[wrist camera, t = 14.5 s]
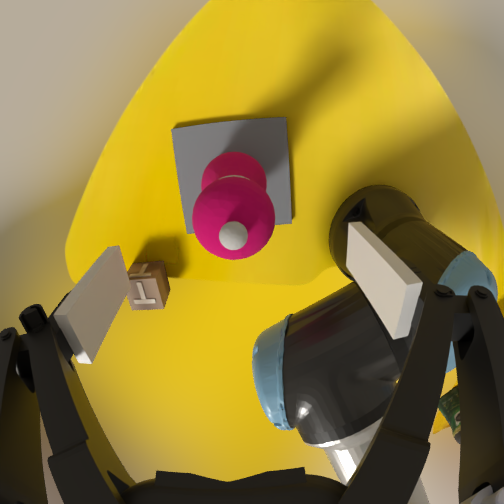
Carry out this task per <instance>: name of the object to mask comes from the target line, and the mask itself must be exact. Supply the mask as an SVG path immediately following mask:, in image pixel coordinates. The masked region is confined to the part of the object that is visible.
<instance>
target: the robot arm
mask: <svg viewBox="0 0 504 504" xmlns="http://www.w3.org/2000/svg"><path fill="white" fill-rule="evenodd" d="M329 247H330V252H331V255H332V257H333V259H334V261H335V263H336V264H337V266H338V268H339V269H340V270H341V272H342V273H343V274H344V275H345V276H346V277H347V278H349V279H350V280H352V281H354V282H352V283H350V284H348V285H347V286H345V287H343V288H341V289H339V290H338V291H336V292H334V293H332V294H331V295H329V296H327V297H325V298H323V299H321V300H320V301H318V302H316V303H314V304H312V305H310V306H308V307H307V308H305V309H303V310H301V311H299V312H297V313H295V314H289V315H287V316H286V317H285V319H284V320H282V321H280V322H278V323H277V324H275V325H273V326H271V327H270V328H268V329H266V330H265V331H263V332H262V333H261V334H260V335H259V336H258V338H257V340H256V342H255V345H254V348H253V361H252V369H253V377H254V383H255V387H256V391H257V395H258V398H259V400H260V403H261V406H262V408H263V410H264V412H265V414H266V416H267V417H268V419H269V420H270V421H271V422H272V423H274V425H275V426H276V427H277V428H278V429H281V430H292V429H294V428H295V427H296V428H297V430H298V431H299V433H300V435H301V437H302V439H303V441H304V442H305V444H306V445H309V446H313V447H317V448H322V449H324V451H325V453H326V455H327V457H328V459H329V460H330V462H331V464H332V466H333V468H334V470H335V472H336V474H337V476H338V478H339V479H340V482H341V483H340V482H338V481H336V480H333V479H330V478H326V477H322V476H318V475H308V474H305V469H304V467H300V468H294V469H286V470H278V471H267V472H264V473H261V474H257V475H254V476H250V477H247V478H243V479H239V480H235V481H231V482H225V481H219V480H216V479H211V478H206V477H202V476H199V475H195V474H191V473H178V472H166V471H156V478H155V479H150V480H146V481H142V482H140V483H135V481H134V480H133V479H132V478H131V477H130V476H129V474H128V473H127V471H126V470H125V468H124V466H123V465H122V463H121V461H120V460H119V458H118V457H117V455H116V453H115V451H114V450H113V448H112V446H111V444H110V442H109V441H108V439H107V437H106V435H105V433H104V431H103V429H102V428H101V426H100V424H99V422H98V419H97V417H96V415H95V413H94V411H93V409H92V407H91V405H90V403H89V400H88V398H87V396H86V394H85V391H84V389H83V387H82V384H81V382H80V379H79V377H78V374H77V371H76V369H75V366H74V364H73V362H72V361H71V357H72V356H73V354H74V355H75V357H76V358H77V360H78V362H79V363H88V364H92V363H93V361H94V358H95V356H96V354H97V352H98V350H99V348H100V346H101V344H102V342H103V340H104V338H105V336H106V334H107V332H108V329H109V327H110V326H111V323H112V321H113V320H114V318H115V316H116V314H117V312H118V310H119V308H120V306H121V304H122V302H123V300H124V299H125V297H126V295H127V293H128V291H129V289H130V288H131V284H130V281H129V278H128V274H127V271H126V268H125V264H124V261H123V258H122V254H121V251H120V247H119V246H112V247H108V248H107V249H106V250H105V251H104V252H103V253H102V255H101V256H100V257H99V258H98V259H97V260H96V261H95V263H94V264H93V265H92V266H91V267H90V269H89V270H88V271H87V272H86V273H85V275H84V276H83V277H82V278H81V280H80V281H79V282H78V283H77V284H76V286H75V287H74V288H73V289H72V290H71V291H70V292H69V293H67V294H66V295H65V296H64V298H63V299H62V300H61V302H60V303H59V304H58V307H56V308H55V310H54V311H53V312H52V313H51V315H50V316H49V318H47V316H46V313H45V311H44V310H43V307H42V306H41V305H40V304H34V305H31V306H30V307H27V308H26V309H25V310H24V311H22V312H21V314H20V316H19V319H20V321H21V323H22V325H23V327H24V329H25V331H26V332H27V334H23V335H19V334H18V332H17V330H16V329H15V328H14V327H11V328H7V329H4V330H3V331H1V333H0V504H48V500H47V494H46V487H45V480H44V473H43V464H42V453H41V435H40V412H41V416H42V419H43V423H44V427H45V430H46V434H47V437H48V440H49V443H50V446H51V449H52V452H53V455H52V456H50V457H49V458H48V464H49V468H50V471H51V473H52V476H53V478H54V481H55V483H56V486H57V488H58V491H59V493H60V495H61V498H62V500H63V502H64V504H429V501H428V498H427V495H426V492H425V490H424V486H423V484H422V481H421V479H420V474H421V472H422V470H423V467H424V464H425V462H426V459H427V456H428V454H429V450H430V443H429V442H428V438H429V434H430V432H431V428H432V425H433V422H434V419H435V415H436V412H437V408H438V404H439V400H440V396H441V392H442V388H443V383H444V378H445V374H446V373H447V372H449V371H451V370H452V369H454V368H455V367H456V370H457V379H458V389H459V402H460V425H461V448H460V450H461V451H460V471H459V488H458V492H459V504H504V318H503V316H502V313H501V311H500V308H499V306H498V304H497V295H498V291H497V284H496V280H495V277H494V275H493V274H492V272H491V271H490V270H489V269H488V268H487V267H486V266H485V265H484V264H483V263H482V262H481V261H480V260H479V259H478V258H477V256H476V255H475V254H474V253H473V252H470V251H468V250H466V249H465V248H464V247H462V246H461V245H459V244H458V243H457V242H455V241H454V240H453V239H451V238H450V237H448V236H447V235H445V234H444V233H443V232H441V231H440V230H438V229H437V228H435V227H434V226H432V225H431V224H429V223H428V222H426V220H425V219H424V218H423V216H422V215H421V213H420V210H419V208H418V207H417V205H416V204H415V202H414V201H413V200H412V199H411V198H410V197H409V196H408V195H406V194H405V193H403V192H401V191H399V190H398V189H396V188H393V187H390V186H386V185H374V186H369V187H366V188H363V189H361V190H359V191H357V192H356V193H354V194H353V195H351V196H350V197H349V198H348V199H347V200H346V201H345V202H344V203H343V204H342V205H341V207H340V208H339V209H338V211H337V213H336V215H335V216H334V219H333V221H332V224H331V228H330V233H329ZM398 379H399V380H398ZM397 380H398V383H396V381H397Z"/></svg>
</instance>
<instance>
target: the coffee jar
mask: <svg viewBox="0 0 504 504" xmlns="http://www.w3.org/2000/svg"><path fill="white" fill-rule="evenodd" d="M438 408H439V410H440V411H441V413H442V414H443V416H444V417H445V418H446V420H447V421H448V423H449V425H450V426H451V428H452V431H453V437H454V438H455V440H456V441H457V442H458V443H459V444H461V425H460V402H459V389H458V387H455V388H453V389H452V390H450V391H449V392H448V393H446V394H445V395H443V396H442V397H441V398H440V400H439V404H438Z"/></svg>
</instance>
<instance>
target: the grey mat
mask: <svg viewBox="0 0 504 504" xmlns="http://www.w3.org/2000/svg"><path fill="white" fill-rule="evenodd" d="M171 131H172V139H173V146H174V154H175V161H176V168H177V175H178V182H179V188H180V194H181V201H182V207H183V213H184V219H185V224H186V230H187V234H191V233H195V232H194V229H193V225H192V213H193V207H194V204H195V202H196V199H197V198H198V196H199V194H200V193H201V192H202V190H201V181H202V175H203V173H204V170H205V168H206V167H207V165H208V164H209V163H210V162H211V161H212V160H213V159H214V158H216V157H217V156H219V155H221V154H224V153H227V152H241V153H245V154H247V155H250V156H251V157H253V158H254V159H256V160H257V161H258V162H259V164H260V165H261V166H262V168H263V169H264V172H265V175H266V180H267V189H266V193H267V194H268V195H269V197H270V199H271V201H272V203H273V206H274V210H275V225H280V224H292V217H291V192H290V172H289V154H288V138H287V124H286V117H277V118H260V119H247V120H236V121H226V122H218V123H210V124H202V125H195V126H188V127H182V128H176V129H171Z"/></svg>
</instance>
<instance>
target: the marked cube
mask: <svg viewBox="0 0 504 504" xmlns="http://www.w3.org/2000/svg"><path fill="white" fill-rule="evenodd" d="M127 274H128V278H129V281H130V284H131V288H130V289H129V291H128V293H127V297H128V300H129V303H130V306H131V309H132V310H151V309H164V307H165V304H166V301H167V298H168V295H169V292H170V286H169V281H168V277H167V274H166V269H165V265H164V261H155V262H143V263H133V264H132V265H131V267H130V268H129V270H128V272H127Z"/></svg>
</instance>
